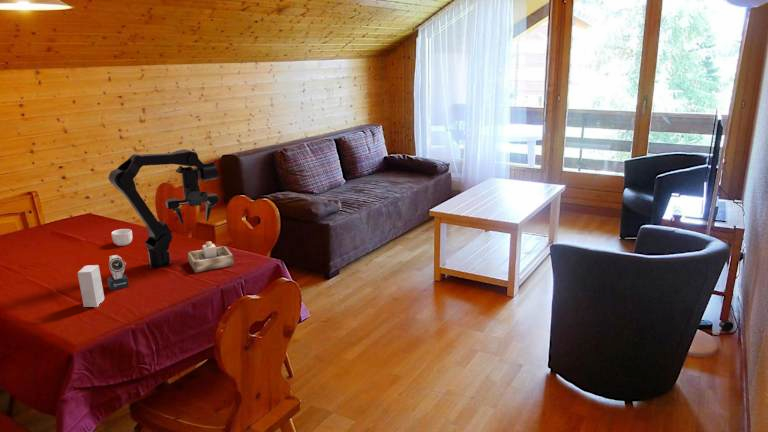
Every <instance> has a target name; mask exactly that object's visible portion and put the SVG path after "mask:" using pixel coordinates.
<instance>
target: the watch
mask: <svg viewBox="0 0 768 432" xmlns="http://www.w3.org/2000/svg"><path fill="white" fill-rule="evenodd" d="M108 258H109V260H108V261H109V262H108V267H109V270H110V273H111V275H112V276H110V277H107V278H106V279H107V280H106V281H107V284H108V285H107V286H108V288H109V289H110V291H112V290H113V291H116V290H120V289H125V288H129V287H130V285H129V278H128V277H127V275H126V274H124V272H125V269H126V268H125V267H126V265H127V263H126V262H125V261H124V260H123V259H122V257H121V256H119V255H118V254H115V255H109V256H108Z"/></svg>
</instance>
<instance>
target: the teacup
mask: <svg viewBox="0 0 768 432" xmlns="http://www.w3.org/2000/svg"><path fill="white" fill-rule="evenodd" d="M111 239H112V242H113V244H114V245H117V246H118V247H119V246H120V247H121V246H128V245H129V244H130V243H131V242H132V241H133V231H132V229H129V228H120V229H115V230H113V231H112V232H111Z"/></svg>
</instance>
